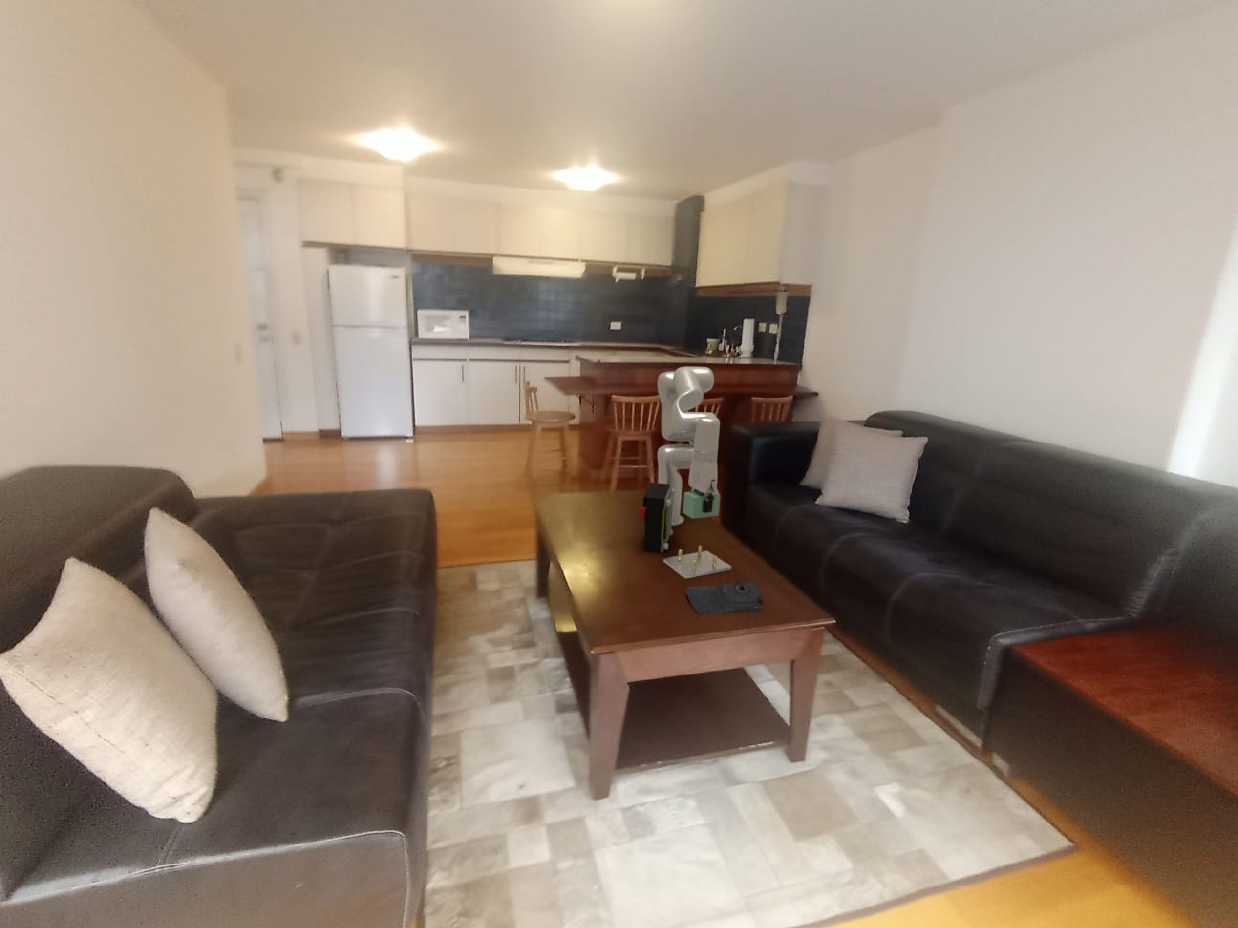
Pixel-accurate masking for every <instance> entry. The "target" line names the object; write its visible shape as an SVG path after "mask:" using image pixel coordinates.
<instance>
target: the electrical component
mask: <svg viewBox="0 0 1238 928" xmlns="http://www.w3.org/2000/svg"><path fill="white" fill-rule="evenodd" d="M671 487H672V486H670V485H668V484H658V483H657V482H656V483H655V482H650V484H649V485H648V487H647V489H646V490H645V493H644V494H643V496H642V507H640V517H641V518H643V521H644V539H643V552H649V553H655V554H656V553H657V554H661V553H663V552H664V550H668V549H669V543H668V541H669V538H670V536H672V535H673V529H672V526H671V524H672V509H673V496H672V495H674V494H675V489H671ZM671 494H672V495H671Z"/></svg>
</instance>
